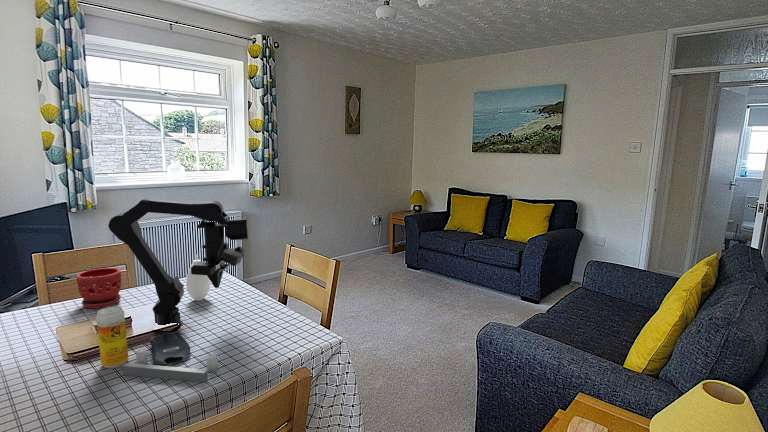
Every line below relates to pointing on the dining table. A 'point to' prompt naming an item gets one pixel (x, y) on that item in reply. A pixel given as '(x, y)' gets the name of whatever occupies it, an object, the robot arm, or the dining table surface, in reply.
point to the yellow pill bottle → (112, 336)
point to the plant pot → (99, 287)
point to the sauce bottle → (197, 284)
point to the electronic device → (169, 347)
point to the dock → (168, 369)
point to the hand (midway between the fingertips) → (216, 287)
